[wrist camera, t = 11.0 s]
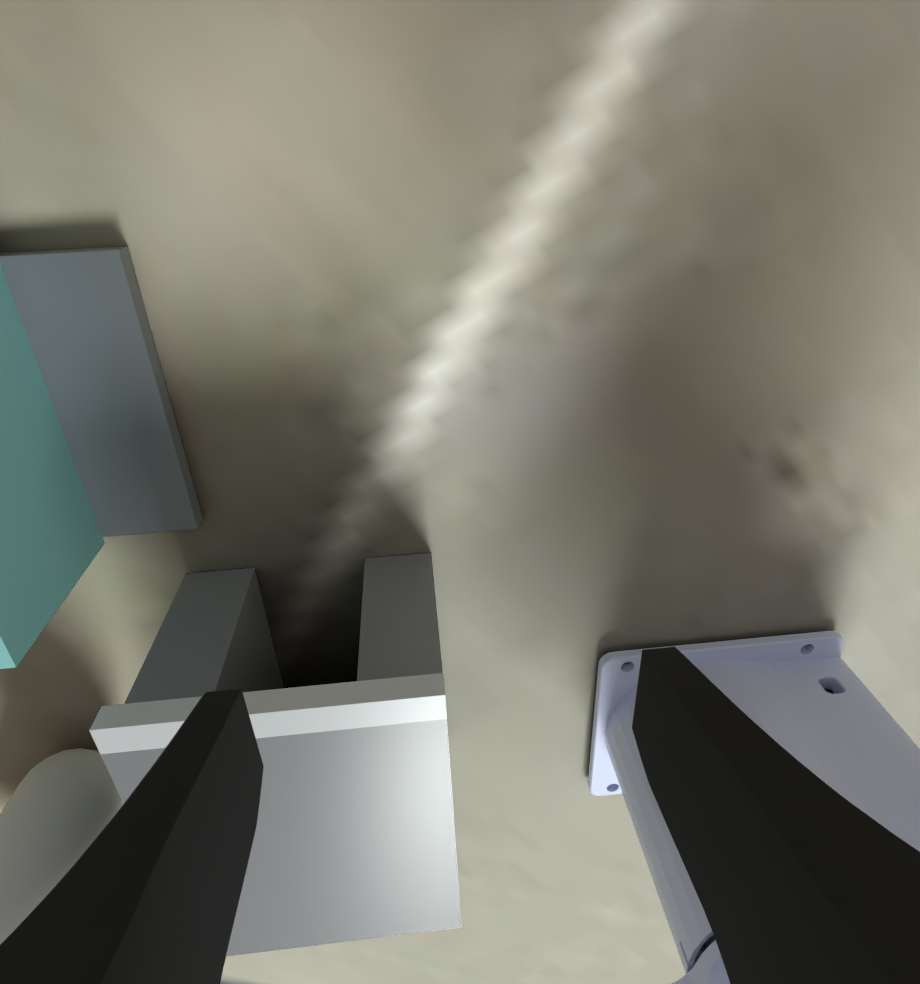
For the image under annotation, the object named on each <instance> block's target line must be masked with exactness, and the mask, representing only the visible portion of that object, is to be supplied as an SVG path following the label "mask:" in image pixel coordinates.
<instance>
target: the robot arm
mask: <svg viewBox="0 0 920 984" xmlns="http://www.w3.org/2000/svg"><path fill="white" fill-rule="evenodd" d="M843 646H844V639H843V638H842V637H841V636H840V634H839V633H837V632H836V631H822V632H811V633H801V634H791V635H780V636H770V637H760V638H749V639H739V640H729V641H718V642H708V643H698V644H688V645H677V646H667V647H657V648H646V649H636V650H626V651H615V652H609V653H607V654H605V655H603V656H602V657H601V658H600V660H599V665H598V676H597V687H596V698H595V709H594V720H593V731H592V742H591V753H590V764H589V775H588V786H589V790H590V792H591V793H592V794H593V795H596V796H603V795H612V794H621V793H623V796H624V799H625V802H626V805H627V807H628V810H629V813H630V816H631V819H632V822H633V825H634V827H635V830H636V833H637V836H638V839H639V842H640V844H641V847H642V850H643V853H644V856H645V859H646V861H647V864H648V867H649V870H650V873H651V876H652V878H653V881H654V884H655V887H656V890H657V893H658V895H659V898H660V901H661V904H662V907H663V910H664V912H665V915H666V918H667V921H668V924H669V927H670V930H671V932H672V935H673V938H674V941H675V944H676V947H677V949H678V952H679V955H680V958H681V961H682V964H683V966H684V969H685V972H686V975H685V976H684V977H682V978H681V979H679V980H678V981H676V982H674V983H672V984H920V749H919V748H918V746H917V745H916V744H915V743H914V742H913V741H912V739H911V738H910V737H909V736H908V735H907V734H906V732H905V731H904V730H903V729H902V728H901V727H900V726H899V724H898V723H897V722H896V721H895V720H894V719H893V717H892V716H891V715H890V714H889V713H888V712H887V711H886V709H885V708H884V707H883V706H882V705H881V704H880V702H879V701H878V700H877V699H876V698H875V697H874V696H873V694H872V693H871V692H870V691H869V690H868V689H867V687H866V686H865V685H864V684H863V683H862V682H861V681H860V679H859V678H858V677H857V676H856V675H855V674H854V672H853V671H852V670H851V669H850V668H849V667H848V665H847V664H846V663H845V662H844V661H843V660H842V659H841V657H840V655H841V652H842V649H843ZM625 662H629V663H627V664H624V663H625ZM622 664H624V665H622ZM263 768H264V766H263V762H262V759H261V755H260V752H259V748H258V745H257V741H256V738H255V734H254V731H253V727H252V724H251V720H250V717H249V713H248V710H247V706H246V703H245V699H244V696H243V692H242V689H233V690H223V691H212V692H206V693H205V694H204V695H203V696H202V697H201V698H200V700H199V701H198V703H197V704H196V706H195V707H194V708H193V710H192V711H191V713H190V714H189V716H188V717H187V718H186V720H185V721H184V723H183V724H182V726H181V727H180V728H179V730H178V731H177V733H176V734H175V735H174V737H173V738H172V740H171V741H170V742H169V744H168V745H167V747H166V748H165V749H164V751H163V752H162V754H161V755H160V756H159V758H158V759H157V760H156V762H155V763H154V765H153V766H152V767H151V769H150V770H149V771H148V772H147V774H146V775H145V776H144V778H143V779H142V780H141V782H140V783H139V784H138V786H137V787H136V788H135V790H134V791H133V792H132V794H131V795H130V796H129V798H128V799H127V800H126V801H125V803H124V804H123V805H122V807H121V808H120V809H119V810H118V812H117V813H116V814H115V816H114V817H113V818H112V819H111V820H110V822H109V823H108V824H107V825H106V827H105V828H104V829H103V830H102V831H101V833H100V834H99V835H98V836H97V837H96V839H95V840H94V841H93V842H92V843H91V845H90V846H89V847H88V848H87V850H86V851H85V852H84V853H83V854H82V856H81V857H80V858H79V859H78V860H77V862H76V863H75V864H74V865H73V866H72V867H71V869H70V870H69V871H68V872H67V873H66V874H65V875H64V877H63V878H62V879H61V880H60V881H59V882H58V883H57V885H56V886H55V887H54V888H53V889H52V890H51V891H50V892H49V893H48V895H47V896H46V897H45V898H44V899H43V900H42V901H41V902H40V903H39V904H38V905H37V907H36V908H35V909H34V910H33V911H32V912H31V913H30V914H29V915H28V916H27V917H26V918H25V919H24V921H23V922H22V923H21V924H20V925H19V926H18V927H17V928H16V929H15V930H14V931H13V932H12V933H11V934H10V935H9V936H8V937H7V938H6V939H5V940H4V941H3V942H2V943H1V944H0V984H220V981H221V976H222V971H223V966H224V962H225V958H226V954H227V949H228V945H229V941H230V937H231V933H232V928H233V924H234V920H235V916H236V912H237V907H238V903H239V899H240V895H241V891H242V887H243V882H244V878H245V874H246V870H247V865H248V861H249V857H250V852H251V848H252V844H253V839H254V835H255V830H256V826H257V818H258V811H259V803H260V795H261V786H262V777H263Z"/></svg>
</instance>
